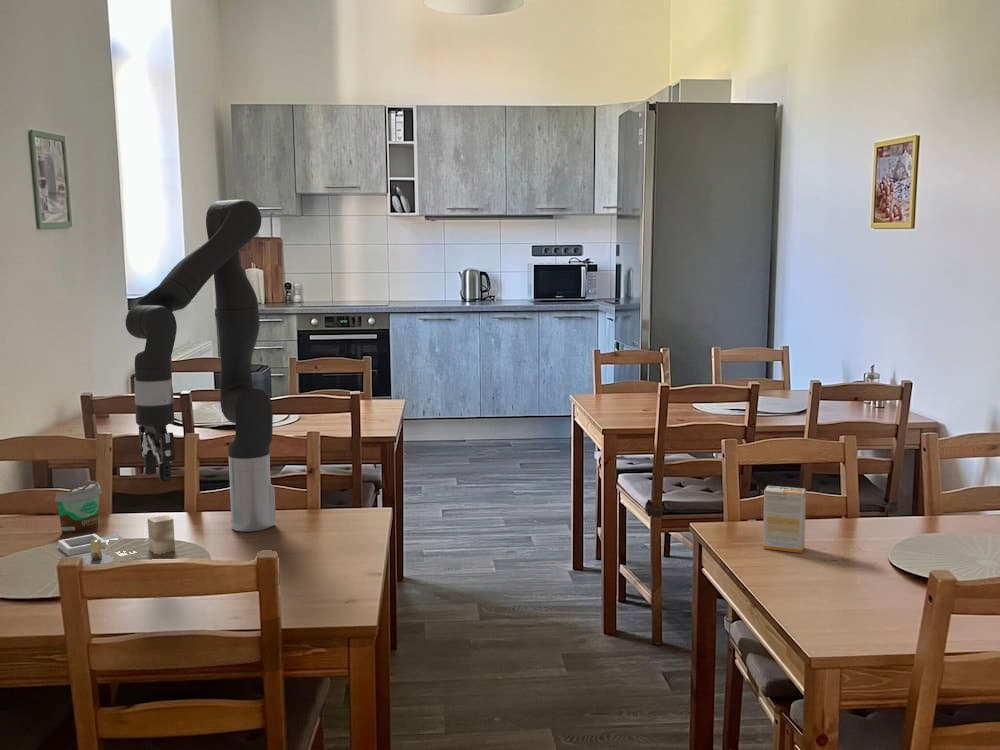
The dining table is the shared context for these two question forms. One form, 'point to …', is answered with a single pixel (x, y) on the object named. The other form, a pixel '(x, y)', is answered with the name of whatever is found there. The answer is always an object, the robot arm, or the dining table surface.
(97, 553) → the pin
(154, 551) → the square pin
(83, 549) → the board
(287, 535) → the dining table surface
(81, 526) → the food container
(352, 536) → the dining table surface
